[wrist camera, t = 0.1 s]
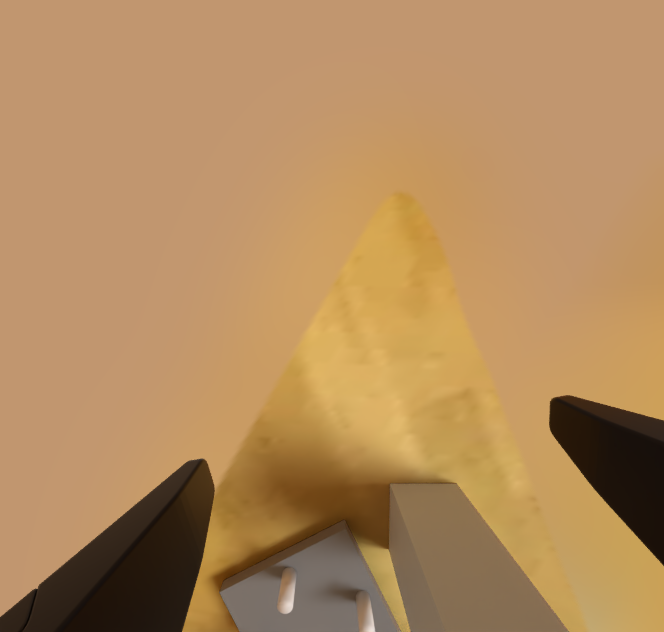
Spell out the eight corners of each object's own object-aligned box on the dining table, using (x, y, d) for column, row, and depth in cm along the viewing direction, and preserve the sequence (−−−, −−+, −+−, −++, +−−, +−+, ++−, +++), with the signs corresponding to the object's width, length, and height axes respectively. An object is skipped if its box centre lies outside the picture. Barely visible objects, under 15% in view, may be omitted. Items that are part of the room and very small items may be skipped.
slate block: (455, 549, 24) (605, 825, 11) (388, 549, 24) (463, 828, 11) (456, 483, 24) (609, 685, 11) (389, 483, 24) (466, 687, 11)
